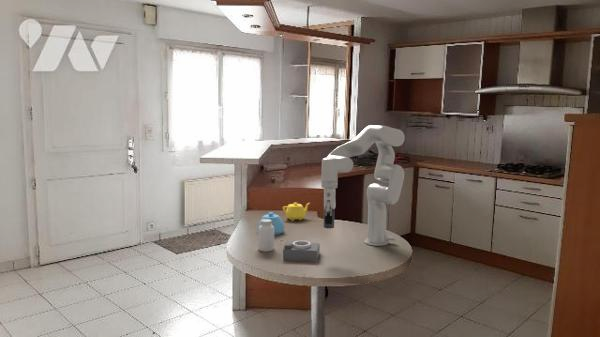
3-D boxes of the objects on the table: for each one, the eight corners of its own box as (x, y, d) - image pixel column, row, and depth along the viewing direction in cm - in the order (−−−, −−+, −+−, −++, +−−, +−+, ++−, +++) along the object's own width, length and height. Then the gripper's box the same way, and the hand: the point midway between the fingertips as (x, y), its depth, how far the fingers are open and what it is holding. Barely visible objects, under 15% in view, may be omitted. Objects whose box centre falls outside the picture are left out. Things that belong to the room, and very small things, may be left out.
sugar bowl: (268, 237, 254) (268, 217, 252) (252, 232, 265) (252, 212, 263) (289, 232, 263) (289, 212, 262) (273, 227, 275) (273, 208, 273)
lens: (334, 225, 221) (334, 206, 220) (333, 228, 216) (334, 209, 215) (324, 225, 222) (324, 206, 220) (323, 228, 217) (323, 208, 215)
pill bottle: (268, 252, 228) (268, 223, 226) (255, 250, 232) (254, 220, 230) (277, 248, 235) (277, 219, 232) (264, 246, 239) (264, 217, 237)
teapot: (307, 216, 302) (307, 200, 301) (312, 220, 292) (312, 203, 290) (280, 218, 298) (280, 201, 296) (284, 222, 287) (284, 205, 286)
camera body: (319, 253, 228) (319, 240, 227) (316, 261, 216) (316, 247, 215) (287, 251, 230) (287, 238, 229) (282, 259, 218) (282, 245, 217)
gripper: (336, 187, 207) (335, 227, 210) (338, 181, 224) (337, 218, 226) (319, 187, 208) (319, 226, 211) (322, 181, 225) (322, 217, 227)
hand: (328, 221), depth 219 cm, fingers closed on lens, 5 cm apart
